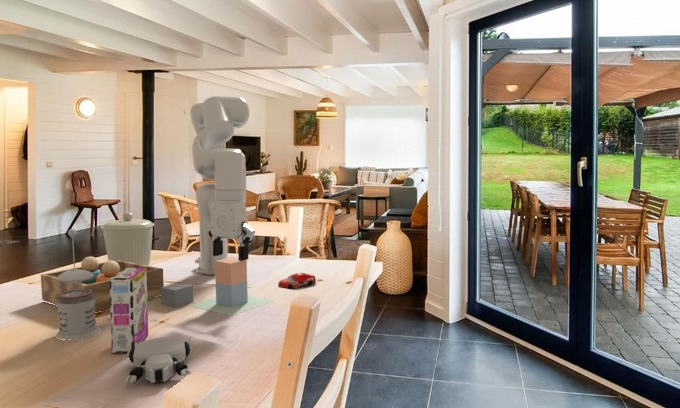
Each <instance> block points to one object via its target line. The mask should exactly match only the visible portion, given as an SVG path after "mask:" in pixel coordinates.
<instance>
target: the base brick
mask: <svg viewBox="0 0 680 408" xmlns="http://www.w3.org/2000/svg"><path fill="white" fill-rule="evenodd" d="M248 296H249V295H248V280H247V281H246V282H242V283H239V284H235V285H232V286H230V285H225V284H220V283H216V282H215V298H216V304H218V305H222V306H227V307H231V308H232V307H235V306H238V305H241V304H244V303H247V302H248Z"/></svg>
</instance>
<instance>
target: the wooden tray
mask: <svg viewBox="0 0 680 408" xmlns="http://www.w3.org/2000/svg"><path fill="white" fill-rule="evenodd" d="M114 261H115V262H117V263H118V264H119V267H120V270H119V272H121V271H123V270H124V269H126V268H147V300H150V299H154V298H157V297H161V287H163V286H165V285H164V284H165V283H164V281H165V280H164V268H162V267H157V266H156V267H155V266H152V265H148V266H146V265H141V264H136V263H131V262H125V261H120V260H114ZM105 262H106V261H105ZM105 262H99V267H98V269H97V270H100V272H101V273H102V266H103V264H104V263H105ZM72 269H74V267H72V268H69V269H63V270H59V271H52V272H49V273H43V274H42V273H41V274H40V284H41V301H42V300H44V301H47V302H50V303H53V304H55V305H57V301H58V300H60V299H62V298H60V297H59V294H61V293H63V292H65V291H66V292H67V291H69V290H70V291H71V290H74V289H73V283H72V282H59V281H57V280H56V277H58V276H59V275H60V274H62V273H63V272H66V271H68V270H72ZM75 269H80V270H83V269H82V267H81V266H80V267H75ZM102 274H103V273H102ZM74 283H75V282H74ZM76 283H79V282H76ZM74 286H75V285H74ZM76 289H77V290H79V289H80V290H81V283H80V284H76ZM82 289H85V290H86V289H89V290H92V291H93V292H92V294H91V296H94V297H95V311H94V312H99V311H104V312H106V311H105V310H107V311H109V310H108V309H111V307H110V280H106V281H102V282H97V283H93V284H89V285H87V284H83V283H82ZM77 303H79V298H76V304H77ZM93 308H94V307H93ZM91 312H92V311H91ZM94 312H93V313H94Z"/></svg>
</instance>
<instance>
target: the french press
mask: <svg viewBox="0 0 680 408" xmlns="http://www.w3.org/2000/svg"><path fill="white" fill-rule="evenodd" d="M77 234H78V231H77V229H75V228H70V229H69V230H68V231H67V235H71V240H72V241H71V242H72V258H73V259H72V261H73V268H74V269H73V268H71V269H72V270H68V269H67V270H68V271H66V272H63V273H62V274H60V275H59V276H58V277H56V280H57V281H59V282H72V283H73V289H74V290H71V291H70V290H69V291H67V292H66V291H65V292H63V293H61V294H59V297H60V298H62V299H60V300H58V301H57V306H56V308H57V316H58V317H57V318H58V320H57V321H58V331H57V333H56V334H55V335H56V337H57V338H60V339H65V340H64V341H74V340H73V339H78V340H82V339H81V338H83V339H87V338H86V337H88V338H90V336H91V337H93V335H94V336H96V335H97V334H99V333H100V332H101V330H100V329H101V328H100V327H99V326H98V325H97V320H96V318H97V317H96V314H95V312H94V311H95V297H94V296H91V294H92V292H93V291H92V290H89V289H86V290H85V289H82V282H81V281H84V280H88V279H91V278H93V277H94V274H93V273H91V272H89V271H86V270H80V269H75V268H76V266H75V265H76V263H75V247H74V246H75V244H74V235H77ZM79 281H80V282H79ZM74 282H75V283H74ZM76 282H79V283H76ZM80 283H81V290H80V289H79V290H77V289H76V284H80ZM74 285H75V286H74ZM76 298H79V303H77V304H76ZM93 307H94V308H93ZM91 311H92V312H91ZM93 312H94V313H93ZM63 320H64V321H63ZM95 334H96V335H95ZM69 339H70V340H69Z"/></svg>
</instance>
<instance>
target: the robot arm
mask: <svg viewBox="0 0 680 408" xmlns="http://www.w3.org/2000/svg"><path fill="white" fill-rule="evenodd" d="M249 107H250V106H249V104H248V103H247V101H246V99H244V98H243V97H238V96H220V95H219V96H210V97H208V98H206V99H205V100H204V101H203V102H198V103H195V104H193V105H192V106H191V108H190V120H191V123H192V126H193V129H194V131H195V133H196V136H195V137H194V139H193V143H192V146H191V147H192V148H191V151H192V161H193V162H192V163H193V166H194V167H193V168H194V170H195V173H197V174H199V175H200V176H201V177H202V178H203V179H205V180H214V182H213V183H212V182H211V183H209V182H208V183H203V184H201V185H199V186H198V187H197V188H196V190H195V199H196V205H197V206H196V207H197V211H198V220H199V221H198V223H199V226H198V227H199V251H200V252H199V253H200V256H199V257H197V259H195V260H194V263H195V264H198V267H196V269H195V271H196V273H197V274H200V275H206V276H207V275H209V276H210V275H211V276H212V275H213V276H214V275H215V261H217V260H222V259H226V258H229V257H228V255H229V254H228V239H229V240H236V241H237V242H238V244H239V246H238V248H237V249H238V250H237V251H238V255H237V256H238V257H237V258H239V261H243V260H247V261H248V260H249V246H250V245H251V243H252V241H253V240H254V236H255V234H256V230H255V229H253V228H252V227H251V226H250V225H249V224H248V223H249V222H248V212H247V207H246V203H247V167H246V164H247V163H246V162H247V161H246V155H245V154H244V153H243V152H242V150H241V149H239V148H225V143H227V142H229V141H230V140H231V139H232V137H233V136H234V134H235V133H234V132H235V129H241V128H242V127H244V126H245V125H246V124H247V123H248V121H249V117H250V108H249Z"/></svg>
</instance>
